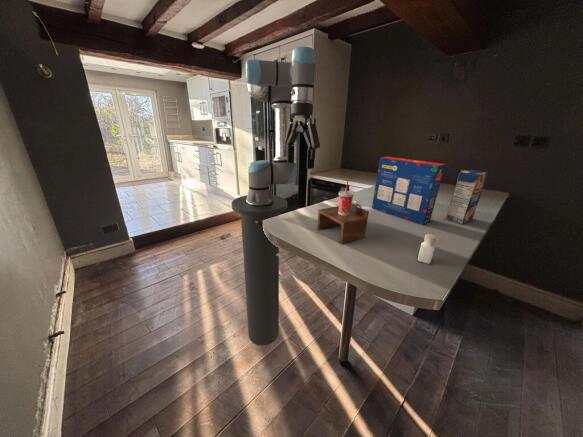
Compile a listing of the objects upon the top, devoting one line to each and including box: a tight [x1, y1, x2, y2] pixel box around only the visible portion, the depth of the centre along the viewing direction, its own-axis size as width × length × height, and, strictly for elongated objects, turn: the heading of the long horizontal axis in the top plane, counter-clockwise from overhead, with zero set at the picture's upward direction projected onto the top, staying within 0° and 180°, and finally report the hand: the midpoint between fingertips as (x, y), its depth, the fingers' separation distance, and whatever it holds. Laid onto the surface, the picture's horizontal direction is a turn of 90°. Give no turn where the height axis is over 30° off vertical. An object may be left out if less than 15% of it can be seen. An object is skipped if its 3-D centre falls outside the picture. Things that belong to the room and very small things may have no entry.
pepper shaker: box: [417, 233, 437, 265], centre depth 79 cm, size 4×4×10 cm
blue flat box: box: [371, 156, 446, 226], centre depth 117 cm, size 28×8×28 cm, turn 38°
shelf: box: [316, 204, 370, 245], centre depth 98 cm, size 16×13×11 cm
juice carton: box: [445, 169, 489, 225], centre depth 113 cm, size 12×8×24 cm, turn 124°
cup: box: [352, 199, 363, 209], centre depth 116 cm, size 11×8×8 cm
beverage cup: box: [338, 179, 355, 216], centre depth 94 cm, size 6×6×14 cm
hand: (299, 165), depth 87 cm, fingers open, 13 cm apart
